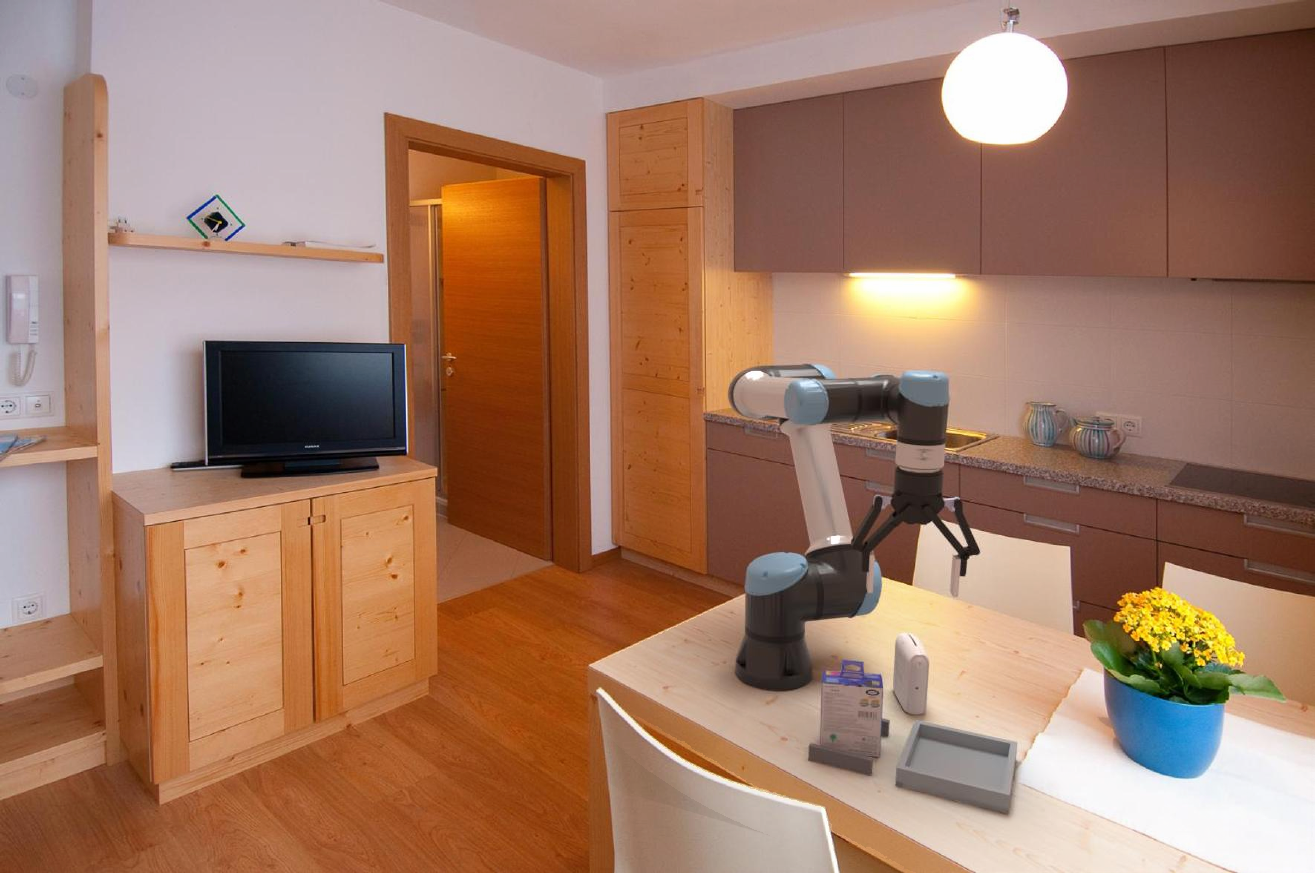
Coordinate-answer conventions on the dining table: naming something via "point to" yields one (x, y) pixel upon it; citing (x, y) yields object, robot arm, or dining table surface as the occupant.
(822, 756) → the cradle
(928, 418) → the robot arm
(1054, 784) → the dining table surface
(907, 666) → the photo printer
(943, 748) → the tray
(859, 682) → the ink cartridge box
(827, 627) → the dining table surface
